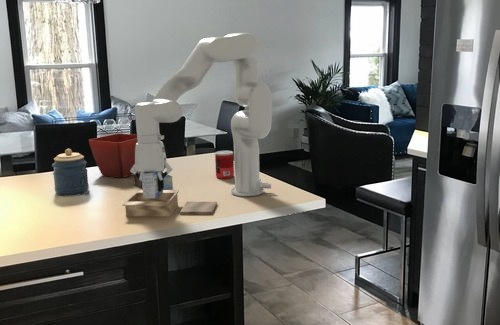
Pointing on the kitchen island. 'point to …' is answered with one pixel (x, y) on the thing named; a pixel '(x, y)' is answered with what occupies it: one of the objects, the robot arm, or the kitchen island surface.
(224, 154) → the canned food
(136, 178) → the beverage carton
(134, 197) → the wooden tray
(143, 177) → the medicine box
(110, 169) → the plant pot
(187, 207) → the walnut board
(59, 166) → the canister
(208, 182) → the kitchen island surface
